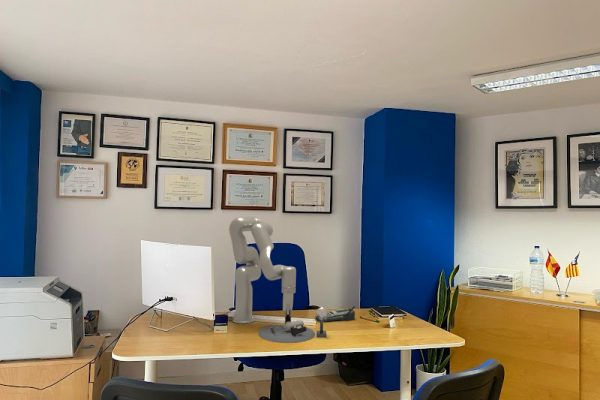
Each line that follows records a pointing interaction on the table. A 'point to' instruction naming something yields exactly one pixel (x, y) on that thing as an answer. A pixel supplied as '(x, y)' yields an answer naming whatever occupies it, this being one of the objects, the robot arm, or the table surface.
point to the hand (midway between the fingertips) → (287, 323)
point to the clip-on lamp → (293, 327)
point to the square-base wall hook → (321, 322)
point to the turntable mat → (285, 335)
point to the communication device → (339, 315)
